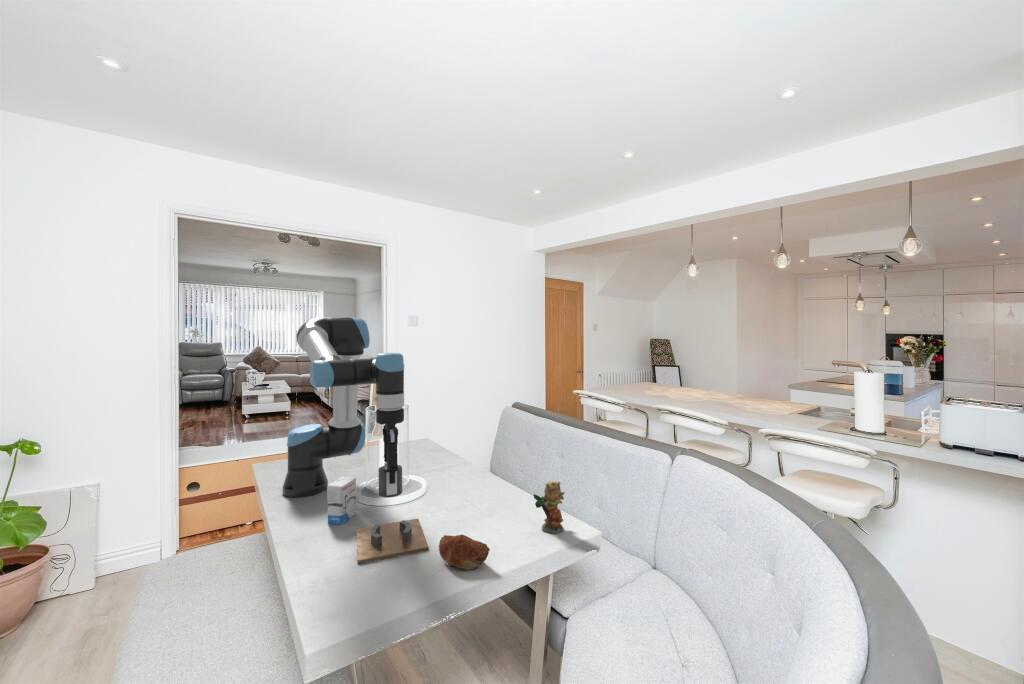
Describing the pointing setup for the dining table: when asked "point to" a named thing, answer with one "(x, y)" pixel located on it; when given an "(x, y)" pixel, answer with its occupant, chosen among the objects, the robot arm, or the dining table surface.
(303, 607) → the dining table surface
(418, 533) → the brown cardboard plate
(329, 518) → the ink box
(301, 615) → the dining table surface
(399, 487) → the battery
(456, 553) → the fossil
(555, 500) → the figurine
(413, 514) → the dining table surface
